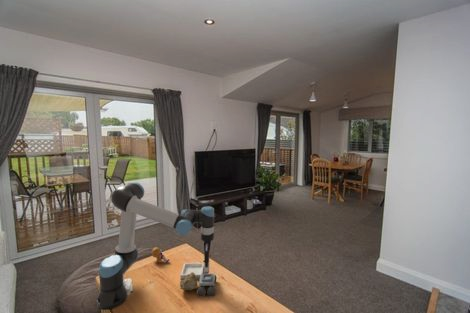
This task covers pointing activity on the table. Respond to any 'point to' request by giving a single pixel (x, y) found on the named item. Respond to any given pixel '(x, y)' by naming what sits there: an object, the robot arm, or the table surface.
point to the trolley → (206, 280)
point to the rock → (189, 282)
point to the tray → (192, 270)
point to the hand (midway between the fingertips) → (206, 269)
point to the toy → (158, 255)
